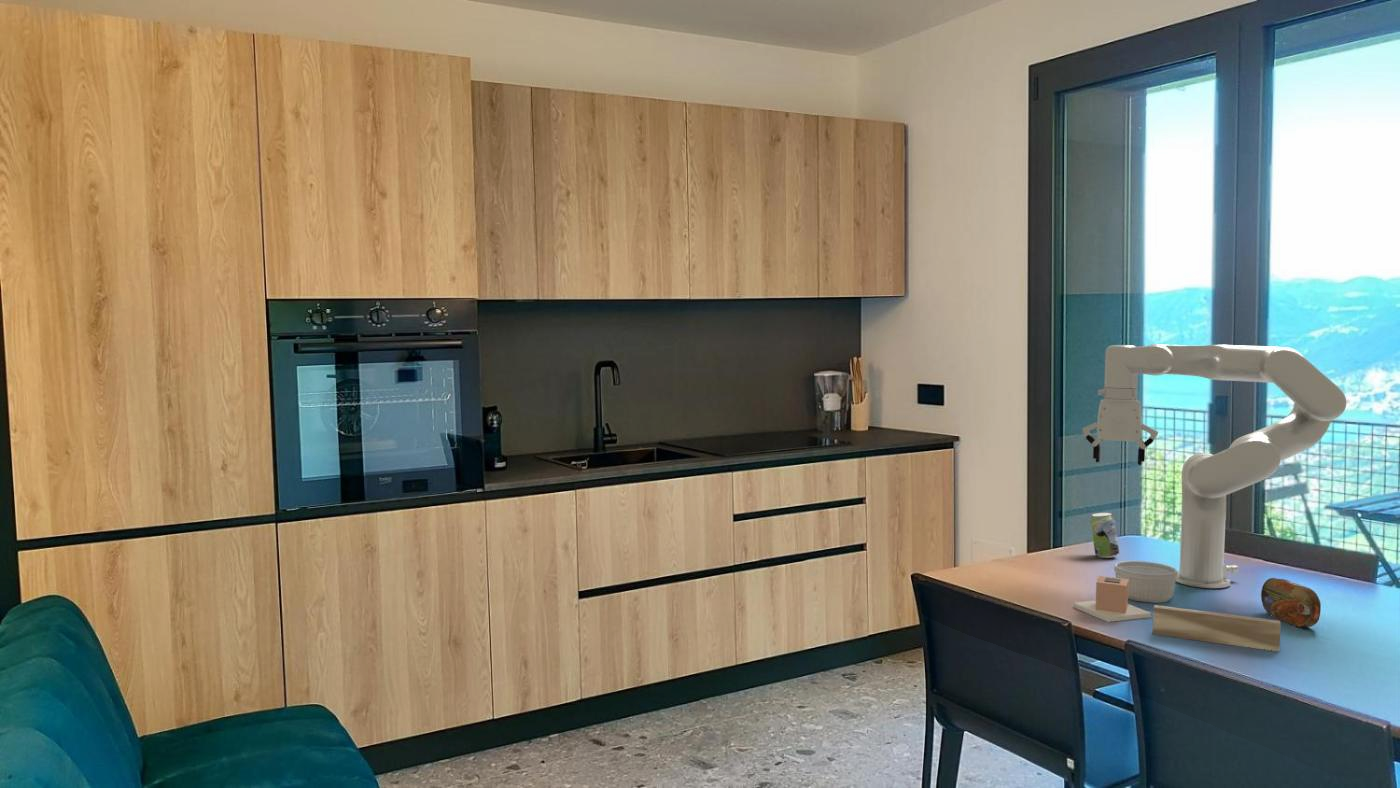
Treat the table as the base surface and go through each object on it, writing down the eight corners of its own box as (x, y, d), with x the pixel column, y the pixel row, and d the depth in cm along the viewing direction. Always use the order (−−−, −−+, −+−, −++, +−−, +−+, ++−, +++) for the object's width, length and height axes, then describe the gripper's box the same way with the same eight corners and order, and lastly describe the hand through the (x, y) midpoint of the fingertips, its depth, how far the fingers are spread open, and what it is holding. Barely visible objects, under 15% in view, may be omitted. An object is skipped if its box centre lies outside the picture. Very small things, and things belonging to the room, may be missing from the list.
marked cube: (1098, 602, 211) (1099, 575, 211) (1127, 606, 208) (1128, 578, 208) (1095, 609, 206) (1096, 581, 205) (1125, 613, 203) (1126, 584, 203)
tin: (1258, 610, 208) (1260, 573, 208) (1272, 610, 209) (1274, 572, 208) (1308, 632, 193) (1310, 592, 193) (1322, 632, 194) (1324, 592, 193)
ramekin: (1135, 585, 229) (1136, 557, 228) (1188, 599, 217) (1189, 569, 217) (1101, 594, 221) (1102, 565, 221) (1154, 608, 210) (1155, 577, 210)
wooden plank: (1153, 631, 194) (1154, 604, 194) (1278, 648, 184) (1279, 620, 183) (1152, 634, 193) (1153, 607, 192) (1279, 651, 182) (1280, 623, 182)
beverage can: (1121, 560, 253) (1122, 516, 252) (1092, 559, 254) (1093, 514, 254) (1115, 554, 259) (1117, 511, 258) (1087, 553, 261) (1088, 510, 260)
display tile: (1114, 603, 214) (1114, 598, 214) (1150, 617, 204) (1150, 612, 203) (1073, 607, 211) (1073, 602, 211) (1107, 621, 200) (1108, 617, 200)
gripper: (1081, 394, 236) (1079, 462, 237) (1158, 397, 228) (1156, 467, 229) (1085, 392, 243) (1083, 459, 244) (1160, 395, 235) (1157, 463, 236)
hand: (1118, 463), depth 237 cm, fingers open, 9 cm apart
